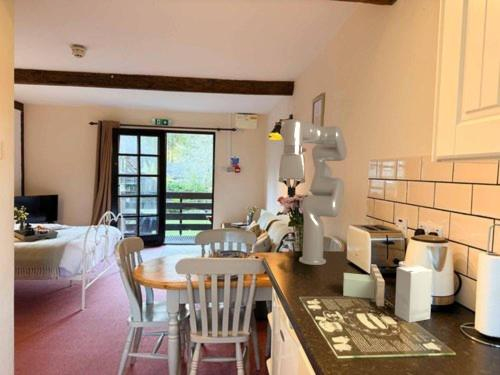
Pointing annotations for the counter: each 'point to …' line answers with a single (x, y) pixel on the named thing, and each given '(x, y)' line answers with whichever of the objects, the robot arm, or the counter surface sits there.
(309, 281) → the counter surface
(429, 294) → the skincare box
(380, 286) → the birch board
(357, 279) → the sage block
